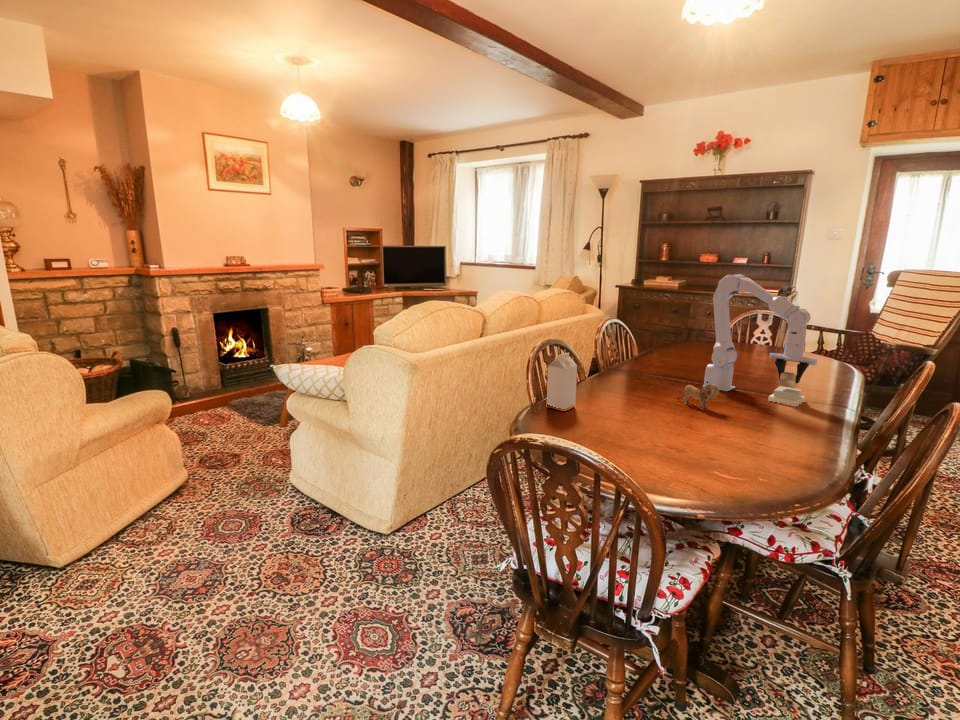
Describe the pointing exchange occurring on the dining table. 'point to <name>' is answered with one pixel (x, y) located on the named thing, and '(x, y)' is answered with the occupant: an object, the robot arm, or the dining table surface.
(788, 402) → the bottom slab
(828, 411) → the dining table surface
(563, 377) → the milk carton
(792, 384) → the birch block
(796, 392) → the top slab
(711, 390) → the lion figurine
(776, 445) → the dining table surface
